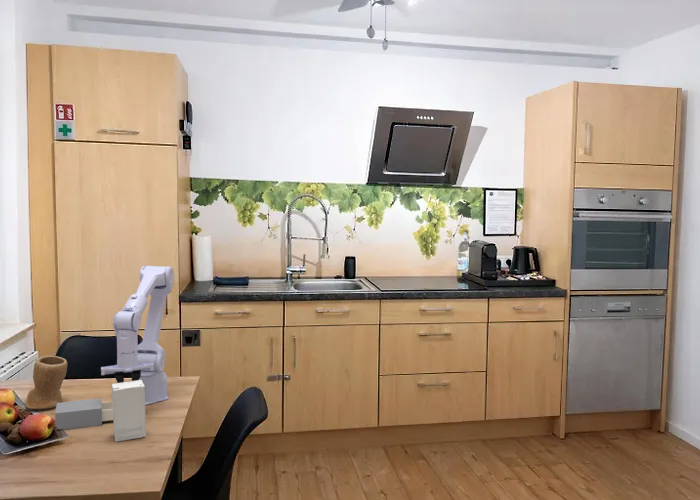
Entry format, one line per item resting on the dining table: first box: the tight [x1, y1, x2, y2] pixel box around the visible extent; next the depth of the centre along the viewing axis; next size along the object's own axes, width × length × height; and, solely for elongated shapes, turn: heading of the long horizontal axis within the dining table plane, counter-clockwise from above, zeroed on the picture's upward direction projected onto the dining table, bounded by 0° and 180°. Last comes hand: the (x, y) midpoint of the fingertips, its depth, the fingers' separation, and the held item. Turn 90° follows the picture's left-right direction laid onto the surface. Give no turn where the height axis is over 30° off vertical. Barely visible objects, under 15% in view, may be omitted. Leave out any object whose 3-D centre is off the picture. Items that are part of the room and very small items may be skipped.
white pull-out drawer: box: [101, 401, 113, 422], centre depth 176 cm, size 13×9×9 cm
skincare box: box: [111, 380, 147, 442], centre depth 163 cm, size 8×6×15 cm
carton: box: [54, 398, 103, 431], centre depth 173 cm, size 12×9×5 cm
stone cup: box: [25, 355, 68, 410], centre depth 187 cm, size 15×12×15 cm
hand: (127, 395), depth 178 cm, fingers closed on white pull-out drawer, 2 cm apart
